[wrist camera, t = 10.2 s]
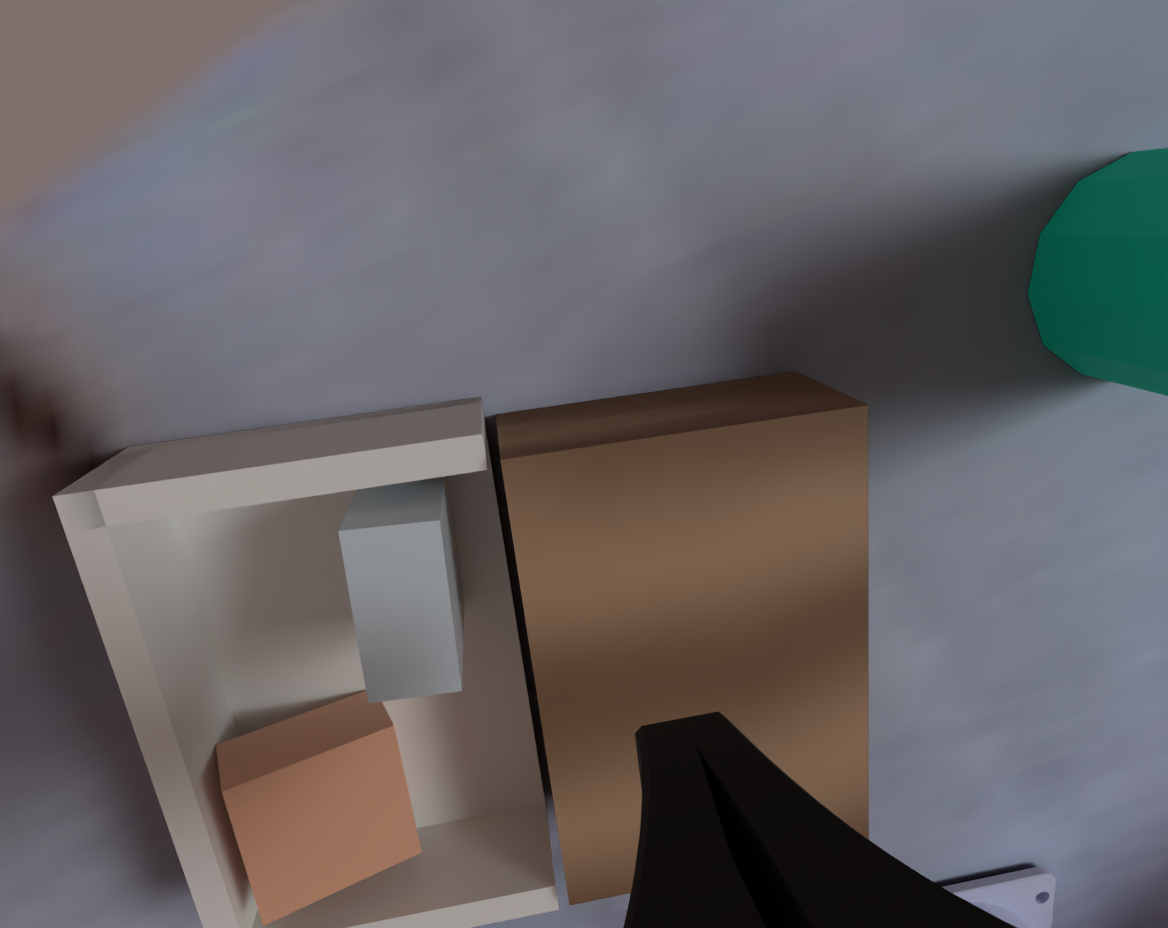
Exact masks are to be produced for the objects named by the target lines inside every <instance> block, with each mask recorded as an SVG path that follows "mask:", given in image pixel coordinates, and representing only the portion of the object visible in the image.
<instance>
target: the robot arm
mask: <svg viewBox="0 0 1168 928" xmlns="http://www.w3.org/2000/svg"><path fill="white" fill-rule="evenodd" d="M635 740H636V748H637V756H638V764H639V772H640V780H641V789H642V805H641V824H640V835H639V842H638V850H637V857H636V865H635V872H634V879H633V884H632V890H631V895H630V901H629V905H628V910H627V915H626V919H625V924H624V928H1052V918H1053V907H1054V897H1055V886H1056V880H1055V877H1054V876H1053V875H1052V874H1051V873H1050V872H1049V870H1048V869H1047V868H1045V867H1034V868H1029V869H1024V870H1019V871H1015V872H1010V873H1005V874H1000V875H995V876H991V877H986V878H981V879H976V880H972V881H967V882H962V883H957V884H953V885H948V886H943V887H941V886H939V885H937V884H936V883H934V882H932V881H931V880H929V879H927V878H926V877H924V876H922V875H921V874H919V873H918V872H916V871H915V870H913V869H911V868H910V867H908V866H907V865H905V864H904V863H902V862H900V861H899V860H897V859H896V858H894V857H893V856H891V855H890V854H888V853H887V852H885V851H884V850H882V849H881V848H880V847H878V846H877V845H875V844H874V843H872V842H871V841H870V840H868V839H867V838H865V837H864V836H863V835H861V834H860V833H859V832H857V831H856V830H855V829H853V828H852V827H851V826H849V825H848V824H847V823H845V822H844V821H843V820H841V819H840V818H839V817H837V816H836V815H835V814H834V813H832V812H831V811H830V810H829V809H827V808H826V807H825V806H824V805H822V804H821V803H820V802H819V801H817V800H816V799H815V798H814V797H813V796H811V795H810V794H809V793H808V792H807V791H806V790H804V789H803V788H802V787H801V786H800V785H798V784H797V783H796V782H795V781H794V780H793V779H791V778H790V777H789V776H788V775H787V774H786V773H784V772H783V771H782V770H781V769H780V768H779V767H778V766H777V765H775V764H774V763H773V762H772V761H771V760H770V759H769V758H768V757H767V756H766V755H765V754H764V753H762V752H761V751H760V750H759V749H758V748H757V747H756V746H755V745H754V744H753V743H752V742H751V741H750V740H749V739H748V738H747V737H746V736H745V735H744V734H743V733H742V732H741V731H740V730H739V729H738V728H737V727H736V726H734V725H733V724H732V723H731V722H730V721H729V719H728V718H727V717H725V716H724V715H723V714H721V713H720V712H719V711H717V712H712V713H707V714H702V715H696V716H691V717H686V718H680V719H675V720H670V721H665V722H659V723H654V724H649V725H643V726H641V727H640V728H639V729H638V730H637V732H636V733H635Z"/></svg>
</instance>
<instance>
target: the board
mask: <svg viewBox="0 0 1168 928" xmlns="http://www.w3.org/2000/svg"><path fill="white" fill-rule="evenodd" d="M496 422H497V432H498V441H499V451H500V460H501V467H502V473H503V480H504V486H505V493H506V499H507V505H508V512H509V518H510V525H511V531H512V538H513V544H514V550H515V557H516V563H517V570H518V576H519V583H520V589H521V595H522V602H523V608H524V615H525V621H526V628H527V634H528V640H529V647H530V653H531V660H532V666H533V673H534V679H535V685H536V692H537V698H538V705H539V711H540V718H541V724H542V730H543V737H544V743H545V750H546V756H547V763H548V769H549V775H550V782H551V788H552V795H553V801H554V808H555V814H556V820H557V827H558V833H559V840H560V846H561V853H562V859H563V866H564V872H565V878H566V885H567V891H568V898H569V904H570V905H574V904H579V903H584V902H589V901H594V900H599V899H604V898H608V897H613V896H618V895H623V894H628V893H631V890H632V884H633V879H634V872H635V865H636V857H637V850H638V842H639V835H640V824H641V805H642V789H641V780H640V772H639V764H638V756H637V748H636V740H635V733H636V732H637V730H638V729H639V728H640V727H641V726H643V725H649V724H654V723H659V722H665V721H670V720H675V719H680V718H686V717H691V716H696V715H702V714H707V713H712V712H717V711H719V712H720V713H721V714H723V715H724V716H725V717H727V718H728V719H729V721H730V722H731V723H732V724H733V725H734V726H736V727H737V728H738V729H739V730H740V731H741V732H742V733H743V734H744V735H745V736H746V737H747V738H748V739H749V740H750V741H751V742H752V743H753V744H754V745H755V746H756V747H757V748H758V749H759V750H760V751H761V752H762V753H764V754H765V755H766V756H767V757H768V758H769V759H770V760H771V761H772V762H773V763H774V764H775V765H777V766H778V767H779V768H780V769H781V770H782V771H783V772H784V773H786V774H787V775H788V776H789V777H790V778H791V779H793V780H794V781H795V782H796V783H797V784H798V785H800V786H801V787H802V788H803V789H804V790H806V791H807V792H808V793H809V794H810V795H811V796H813V797H814V798H815V799H816V800H817V801H819V802H820V803H821V804H822V805H824V806H825V807H826V808H827V809H829V810H830V811H831V812H832V813H834V814H835V815H836V816H837V817H839V818H840V819H841V820H843V821H844V822H845V823H847V824H848V825H849V826H851V827H852V828H853V829H855V830H856V831H857V832H859V833H860V834H861V835H863V836H864V837H865V838H867V839H868V840H869V819H868V405H867V404H865V403H863V402H860V401H858V400H856V399H854V398H852V397H850V396H848V395H845V394H843V393H841V392H839V391H837V390H835V389H833V388H830V387H828V386H826V385H824V384H822V383H820V382H818V381H815V380H813V379H811V378H809V377H807V376H805V375H803V374H800V373H798V372H789V373H782V374H775V375H768V376H761V377H754V378H747V379H740V380H733V381H726V382H719V383H712V384H705V385H698V386H691V387H684V388H677V389H670V390H664V391H657V392H650V393H643V394H636V395H629V396H622V397H615V398H608V399H601V400H594V401H587V402H580V403H573V404H566V405H559V406H552V407H545V408H538V409H531V410H524V411H517V412H510V413H503V414H496Z"/></svg>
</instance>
